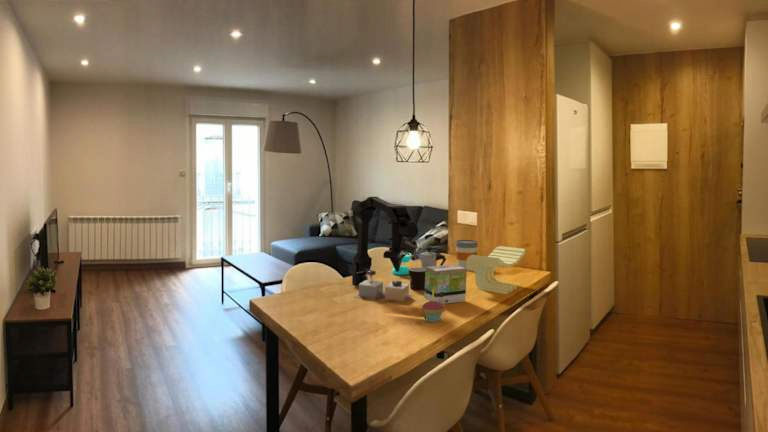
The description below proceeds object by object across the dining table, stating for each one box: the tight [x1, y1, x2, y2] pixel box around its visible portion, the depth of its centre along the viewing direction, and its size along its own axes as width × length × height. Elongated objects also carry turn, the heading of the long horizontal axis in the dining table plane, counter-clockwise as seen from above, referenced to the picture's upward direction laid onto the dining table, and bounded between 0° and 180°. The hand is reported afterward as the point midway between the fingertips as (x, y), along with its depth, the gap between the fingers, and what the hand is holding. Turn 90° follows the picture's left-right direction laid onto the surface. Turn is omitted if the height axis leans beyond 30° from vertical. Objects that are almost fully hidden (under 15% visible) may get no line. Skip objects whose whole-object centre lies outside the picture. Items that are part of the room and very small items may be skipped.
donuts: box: [391, 254, 412, 276], centre depth 258 cm, size 10×10×10 cm
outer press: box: [384, 281, 410, 301], centre depth 209 cm, size 8×10×6 cm
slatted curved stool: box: [466, 245, 526, 295], centre depth 229 cm, size 30×16×18 cm, turn 142°
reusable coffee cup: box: [455, 239, 478, 268], centre depth 275 cm, size 13×13×15 cm
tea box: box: [423, 263, 468, 305], centre depth 207 cm, size 15×10×15 cm, turn 117°
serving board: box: [353, 291, 414, 304], centre depth 210 cm, size 23×13×1 cm, turn 69°
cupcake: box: [421, 290, 446, 323], centre depth 181 cm, size 9×8×12 cm
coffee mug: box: [408, 266, 426, 291], centre depth 225 cm, size 12×9×10 cm
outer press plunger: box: [392, 280, 403, 286], centre depth 208 cm, size 6×6×7 cm
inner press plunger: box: [367, 269, 377, 283], centre depth 211 cm, size 6×6×7 cm
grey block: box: [358, 279, 384, 298], centre depth 213 cm, size 8×10×6 cm
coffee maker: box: [416, 246, 447, 269], centre depth 238 cm, size 15×9×18 cm, turn 68°
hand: (397, 271), depth 207 cm, fingers closed
